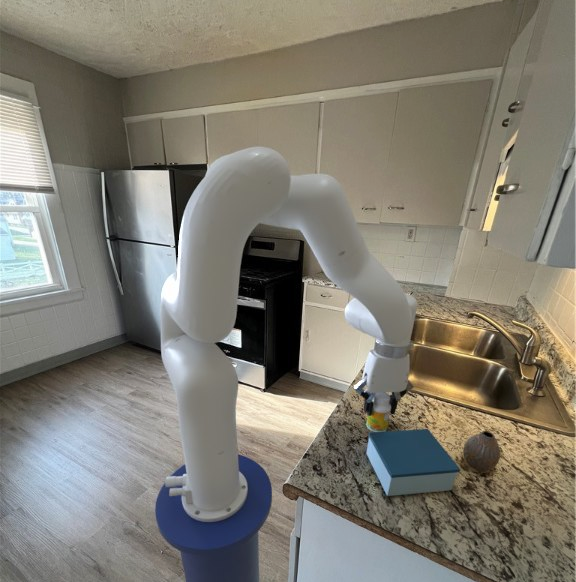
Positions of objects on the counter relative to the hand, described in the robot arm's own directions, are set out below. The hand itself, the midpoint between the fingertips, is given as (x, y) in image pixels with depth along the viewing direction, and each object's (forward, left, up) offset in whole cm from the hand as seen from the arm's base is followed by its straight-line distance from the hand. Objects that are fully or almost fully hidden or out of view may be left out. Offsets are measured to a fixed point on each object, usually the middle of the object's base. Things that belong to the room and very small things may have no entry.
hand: (379, 411), depth 80 cm
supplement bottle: (0, 0, -5) cm, 5 cm away
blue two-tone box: (+1, -15, -5) cm, 16 cm away
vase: (+18, -15, -5) cm, 24 cm away
